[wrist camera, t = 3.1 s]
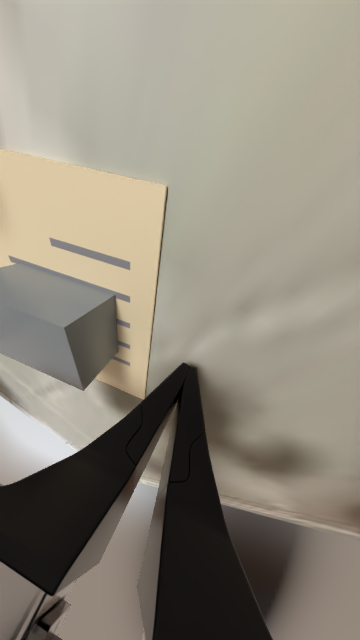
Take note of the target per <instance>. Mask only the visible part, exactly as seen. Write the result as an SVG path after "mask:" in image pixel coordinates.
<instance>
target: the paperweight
mask: <svg viewBox="0 0 360 640" xmlns="http://www.w3.org/2000/svg"><path fill="white" fill-rule="evenodd" d="M0 353H1V354H3V355H6V356H8V357H10V358H12V359H14V360H17V361H19V362H21V363H23V364H25V365H28V366H30V367H32V368H34V369H36V370H39V371H41V372H43V373H45V374H47V375H50V376H52V377H54V378H56V379H58V380H61V381H63V382H65V383H67V384H69V385H72V386H74V387H76V388H78V389H80V390H83V391H84V390H85V389H86V387H87V386H88V385H89V384H90V383H91V382H92V381H93V380H94V378H95V377H96V376H97V375H98V374H99V373H100V372H101V371H102V370H103V368H104V367H105V366H106V365H107V364H108V363H109V362H110V361H111V359H112V358H113V357H114V356H115V355H116V354H117V353H118V335H117V318H116V301H115V294H112V293H109V292H106V291H103V290H100V289H97V288H94V287H91V286H88V285H85V284H82V283H80V282H77V281H74V280H71V279H68V278H65V277H62V276H59V275H56V274H53V273H50V272H47V271H44V270H42V269H39V268H36V267H33V266H30V265H27V264H24V263H18V264H13V265H9V266H4V267H0Z"/></svg>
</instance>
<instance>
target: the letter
mask: <svg viewBox="0 0 360 640" xmlns="http://www.w3.org/2000/svg"><path fill="white" fill-rule="evenodd" d="M166 193H167V186H166V185H161V184H157V183H152V182H148V181H143V180H139V179H134V178H130V177H125V176H121V175H116V174H111V173H107V172H102V171H98V170H93V169H89V168H84V167H80V166H75V165H71V164H66V163H62V162H57V161H52V160H48V159H43V158H39V157H34V156H30V155H25V154H21V153H16V152H12V151H7V150H3V149H0V267H4V266H9V265H13V264H18V263H24V264H27V265H30V266H33V267H36V268H39V269H42V270H44V271H47V272H50V273H53V274H56V275H59V276H62V277H65V278H68V279H71V280H74V281H77V282H80V283H82V284H85V285H88V286H91V287H94V288H97V289H100V290H103V291H106V292H109V293H112V294H115V301H116V318H117V335H118V353H117V354H116V355H115V356H114V357H113V358H112V359H111V361H110V362H109V363H108V364H107V365H106V366H105V367H104V368H103V370H102V371H101V372H100V373H99V374H98V375H97V376H96V377H95V379H97V380H99V381H102V382H104V383H106V384H108V385H111V386H113V387H115V388H118V389H120V390H122V391H124V392H127V393H129V394H131V395H134V396H136V397H138V398H141V399H143V400H144V399H145V391H146V381H147V372H148V363H149V353H150V344H151V334H152V325H153V316H154V306H155V297H156V287H157V278H158V269H159V259H160V250H161V240H162V231H163V222H164V212H165V203H166Z"/></svg>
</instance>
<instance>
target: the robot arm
mask: <svg viewBox="0 0 360 640" xmlns="http://www.w3.org/2000/svg"><path fill="white" fill-rule="evenodd" d="M181 389H182V390H181ZM180 392H181V393H180ZM177 401H178V402H177ZM176 403H177V406H176V410H175V415H174V419H173V424H172V429H171V433H170V438H169V442H168V447H167V452H166V456H165V461H164V465H163V470H162V475H161V479H160V484H159V488H158V493H157V498H156V502H155V507H154V511H153V516H152V520H151V525H150V530H149V534H148V539H147V543H146V548H145V553H144V557H143V562H142V567H141V571H140V575H139V580H138V584H137V589H138V595H139V602H140V608H141V614H142V620H143V627H144V631H143V636H142V640H273V639H272V637H271V635H270V632H269V630H268V628H267V626H266V623H265V621H264V619H263V616H262V614H261V611H260V609H259V606H258V604H257V602H256V599H255V597H254V594H253V592H252V589H251V587H250V584H249V582H248V579H247V577H246V575H245V572H244V570H243V567H242V565H241V562H240V560H239V557H238V555H237V553H236V550H235V548H234V545H233V543H232V540H231V538H230V535H229V532H228V529H227V526H226V523H225V519H224V515H223V511H222V508H221V503H220V499H219V495H218V491H217V487H216V482H215V478H214V474H213V470H212V465H211V461H210V456H209V450H208V444H207V437H206V432H205V423H204V416H203V409H202V402H201V394H200V387H199V380H198V373H197V368H196V367H194V366H189V364H186V363H182V364H181V365H180V366H179V367H178V368H177V369H176V370H175V371H174V372H173V373H171V374H170V375H169V376H168V377H167V378H166V379H165V380H164V381H163V382H162V383H161V384H160V385H159V386H158V387H157V388H156V389H155V390H154V391H152V392H151V393H150V394H149V395H148V396H147V397H146V398H145V399H144V400H143V401H142V402H141V404H139V405H138V406H137V407H136V408H134V409H133V410H132V411H131V412H130V413H129V414H128V415H127V416H126V417H124V418H123V419H122V420H121V421H119V422H118V423H117V424H116V425H114V426H113V427H112V428H110V429H109V430H108V431H106V432H105V433H104V434H102V435H101V436H100V437H98V438H97V439H96V440H94V441H93V442H92V443H90V444H89V445H88V446H86V447H85V448H83V449H82V450H80V451H78V452H77V453H75V454H74V455H72V456H70V457H68V458H65V459H63V460H61V461H59V462H57V463H55V464H53V465H51V466H49V467H47V468H45V469H42V470H40V471H38V472H37V473H34V474H32V475H30V476H28V477H26V478H24V479H22V480H20V481H17V482H15V483H12V484H9V485H5V486H4V485H2V484H0V640H62V639H61V638H59V637H58V634H59V632H60V629H61V627H62V625H63V622H64V620H65V618H66V616H67V613H68V611H69V609H70V606H71V604H69V603H68V602H67V600H68V598H69V596H70V593H71V591H72V589H73V587H74V585H75V582H76V580H77V579H78V578H79V577H80V576H82V575H83V574H84V573H86V572H87V571H89V570H90V569H91V568H93V567H94V566H95V565H97V564H98V563H99V562H100V560H101V557H102V556H103V554H104V552H105V550H106V547H107V545H108V543H109V541H110V539H111V537H112V535H113V533H114V531H115V529H116V527H117V525H118V523H119V521H120V519H121V516H122V514H123V512H124V510H125V508H126V506H127V504H128V502H129V500H130V498H131V496H132V494H133V492H134V489H135V488H136V486H137V483H138V481H139V479H140V477H141V475H142V473H143V471H144V469H145V467H146V465H147V463H148V461H149V459H150V457H151V455H152V453H153V451H154V449H155V446H156V444H157V442H158V440H159V438H160V436H161V434H162V432H163V430H164V428H165V426H166V424H167V422H168V420H169V418H170V416H171V414H172V411H173V409H174V407H175V405H176Z"/></svg>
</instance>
